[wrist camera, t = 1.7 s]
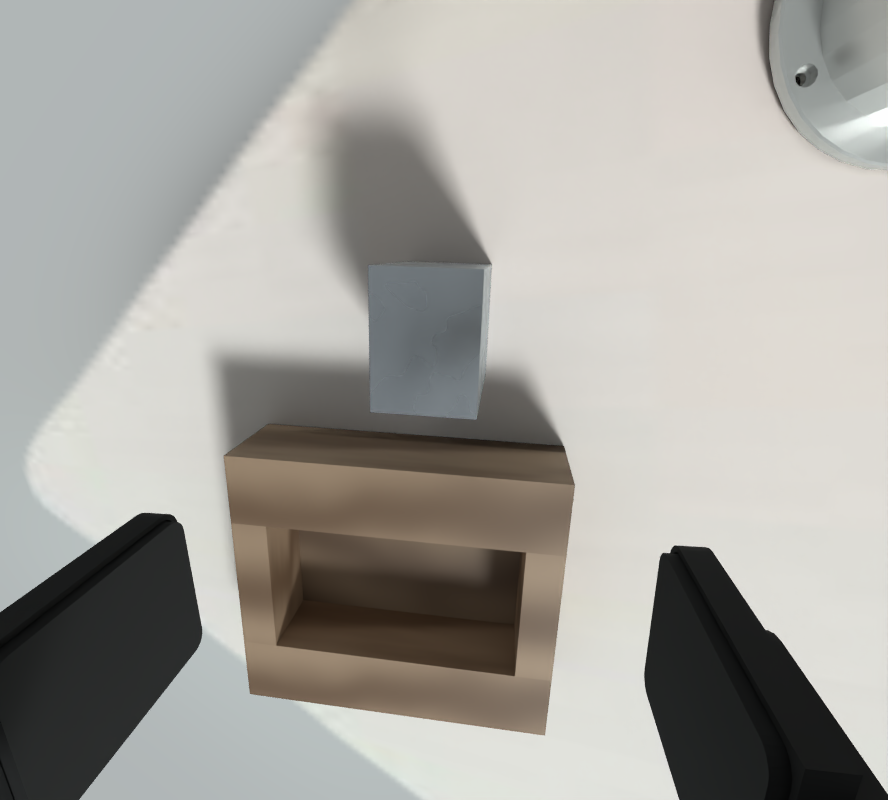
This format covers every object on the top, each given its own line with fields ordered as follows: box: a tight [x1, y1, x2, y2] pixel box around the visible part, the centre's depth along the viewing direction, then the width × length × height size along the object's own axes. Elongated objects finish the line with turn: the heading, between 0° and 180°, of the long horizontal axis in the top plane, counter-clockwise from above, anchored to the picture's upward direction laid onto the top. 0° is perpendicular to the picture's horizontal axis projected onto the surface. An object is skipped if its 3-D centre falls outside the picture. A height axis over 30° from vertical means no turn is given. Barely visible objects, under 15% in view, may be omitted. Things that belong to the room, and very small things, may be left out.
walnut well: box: [224, 424, 575, 735], centre depth 29 cm, size 16×18×5 cm
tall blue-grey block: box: [368, 261, 492, 420], centre depth 23 cm, size 6×4×8 cm
